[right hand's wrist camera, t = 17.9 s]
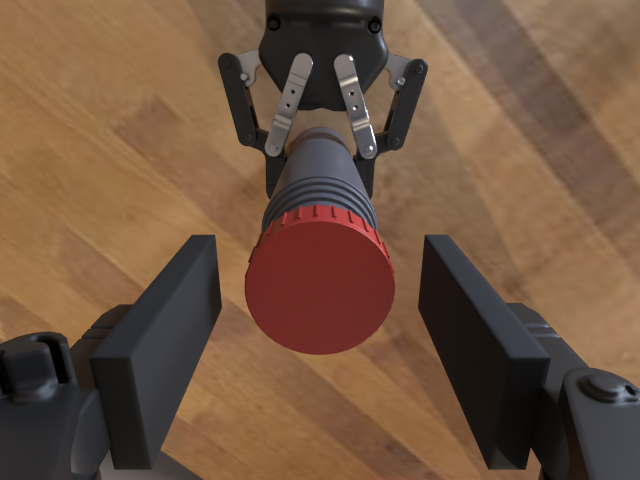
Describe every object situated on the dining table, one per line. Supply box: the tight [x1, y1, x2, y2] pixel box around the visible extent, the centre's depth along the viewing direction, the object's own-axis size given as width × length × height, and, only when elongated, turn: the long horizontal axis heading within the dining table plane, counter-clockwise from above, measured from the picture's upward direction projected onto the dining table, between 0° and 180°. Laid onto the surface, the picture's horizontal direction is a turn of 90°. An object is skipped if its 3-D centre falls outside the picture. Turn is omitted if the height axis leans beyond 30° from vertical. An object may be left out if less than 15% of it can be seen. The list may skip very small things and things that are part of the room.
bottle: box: [262, 127, 378, 233], centre depth 25 cm, size 5×5×25 cm
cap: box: [245, 204, 395, 355], centre depth 14 cm, size 5×5×2 cm
